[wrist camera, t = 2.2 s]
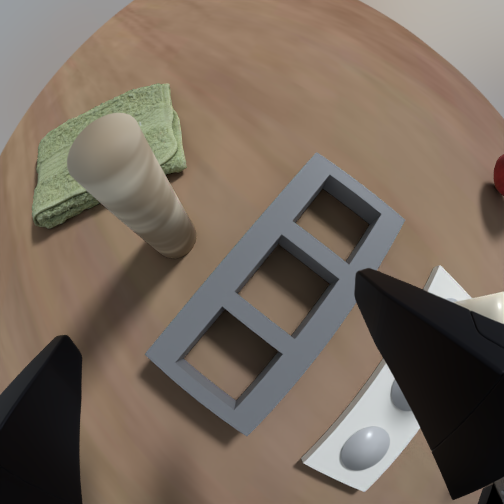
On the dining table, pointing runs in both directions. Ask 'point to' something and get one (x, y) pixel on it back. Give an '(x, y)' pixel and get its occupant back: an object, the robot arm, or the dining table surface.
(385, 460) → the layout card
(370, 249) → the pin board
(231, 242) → the dining table surface
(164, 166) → the washcloth
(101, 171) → the birch peg
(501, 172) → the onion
